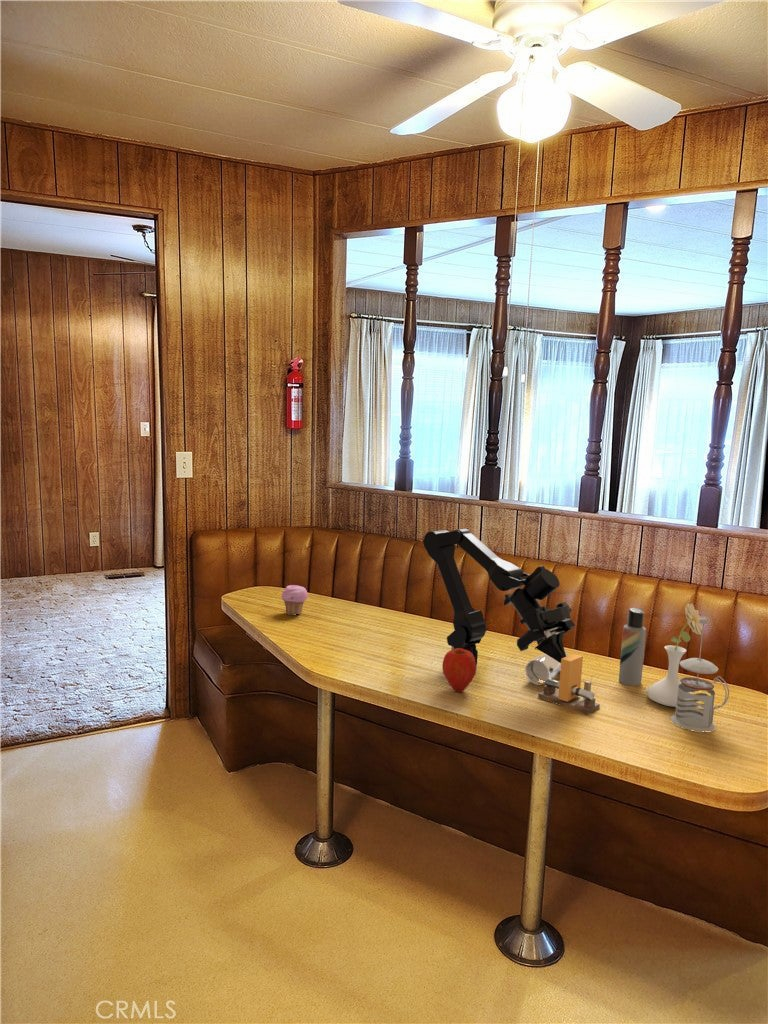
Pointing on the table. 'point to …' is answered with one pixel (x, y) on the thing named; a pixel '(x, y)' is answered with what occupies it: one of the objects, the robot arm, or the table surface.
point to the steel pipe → (575, 690)
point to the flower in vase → (675, 663)
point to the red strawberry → (459, 668)
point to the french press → (697, 695)
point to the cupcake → (294, 599)
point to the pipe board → (575, 704)
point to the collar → (570, 676)
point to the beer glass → (542, 669)
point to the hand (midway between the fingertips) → (566, 664)
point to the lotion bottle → (632, 649)
